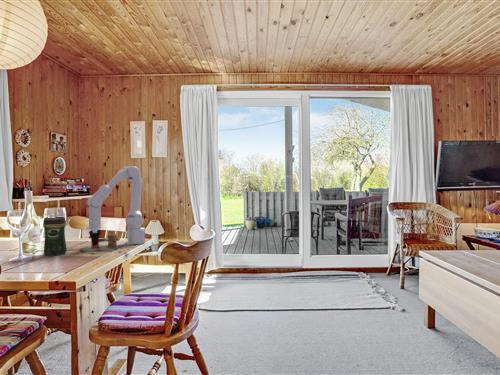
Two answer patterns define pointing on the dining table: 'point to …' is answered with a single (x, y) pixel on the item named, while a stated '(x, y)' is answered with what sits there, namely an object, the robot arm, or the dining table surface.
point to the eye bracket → (111, 245)
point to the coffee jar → (54, 236)
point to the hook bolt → (101, 241)
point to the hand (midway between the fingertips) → (95, 244)
